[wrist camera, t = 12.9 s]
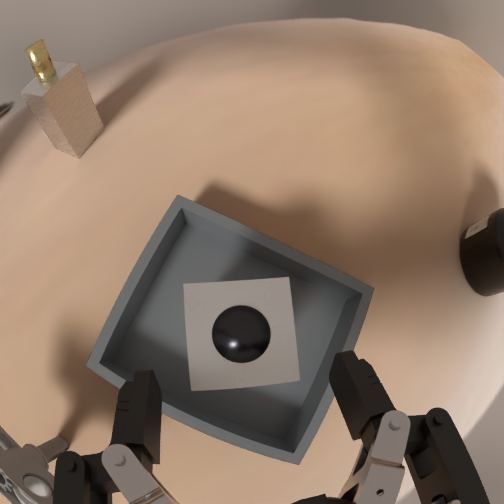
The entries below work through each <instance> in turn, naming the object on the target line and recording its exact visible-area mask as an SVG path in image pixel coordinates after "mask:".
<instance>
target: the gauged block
mask: <svg viewBox="0 0 504 504" xmlns="http://www.w3.org/2000/svg"><path fill="white" fill-rule="evenodd" d="M25 53H26V55H27V57H28V60H29V62H30V64H31V66H32V68H33V70H34V72H35V74H36V77H35V78H34V79H33V80H32V81H31V82H30V83H29V84H28V85H27V86H26V87H25V88H24V89H23V90H22V91H21V92H20V93H21V94H22V96H23V98H24V100H25V101H26V103H27V105H28V106H29V108H30V110H31V111H32V113H33V114H34V116H35V118H36V119H37V121H38V122H39V124H40V126H41V127H42V129H43V130H44V132H45V133H46V135H47V136H48V138H49V139H50V141H51V142H52V144H53V145H54V147H55V148H56V149H58V150H60V151H62V152H65V153H67V154H69V155H72V156H74V157H76V158H78V159H79V158H80V157H81V156H82V155H83V153H84V152H85V151H86V150H87V148H88V147H89V146H90V145H91V143H92V142H93V141H94V140H95V139H96V137H97V136H98V135H99V134H100V133H101V132H102V130H103V129H104V125H103V123H102V121H101V119H100V116H99V114H98V111H97V109H96V107H95V104H94V102H93V99H92V97H91V94H90V92H89V89H88V87H87V84H86V82H85V79H84V76H83V74H82V71H81V69H80V66H79V63H73V62H58V61H53V62H52V61H51V58H50V56H49V53H48V51H47V48H46V46H45V43H44V41H43V39H41V40H38V41H36V42H34V43H33V44H31V45H30V46H29V47H28V48H27V49H26V50H25Z"/></svg>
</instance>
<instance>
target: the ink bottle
mask: <svg viewBox="0 0 504 504" xmlns="http://www.w3.org/2000/svg"><path fill="white" fill-rule="evenodd" d="M461 261H462V266H463V270H464V273H465V276H466V279H467V281H468V283H469V285H470V286H471V287H472V289H473V290H474V291H475V292H477V293H478V294H479V295H482V296H491V295H495V294H498V293H501V292H504V208H501V209H499V210H497V211H495V212H494V213H492V214H490V215H489V216H487V217H485V218H484V219H482V220H480V221H479V222H477V223H475V224H474V225H472V226H470V227H469V228H467V229H466V230H465V231H464V233H463V235H462V239H461Z"/></svg>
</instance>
